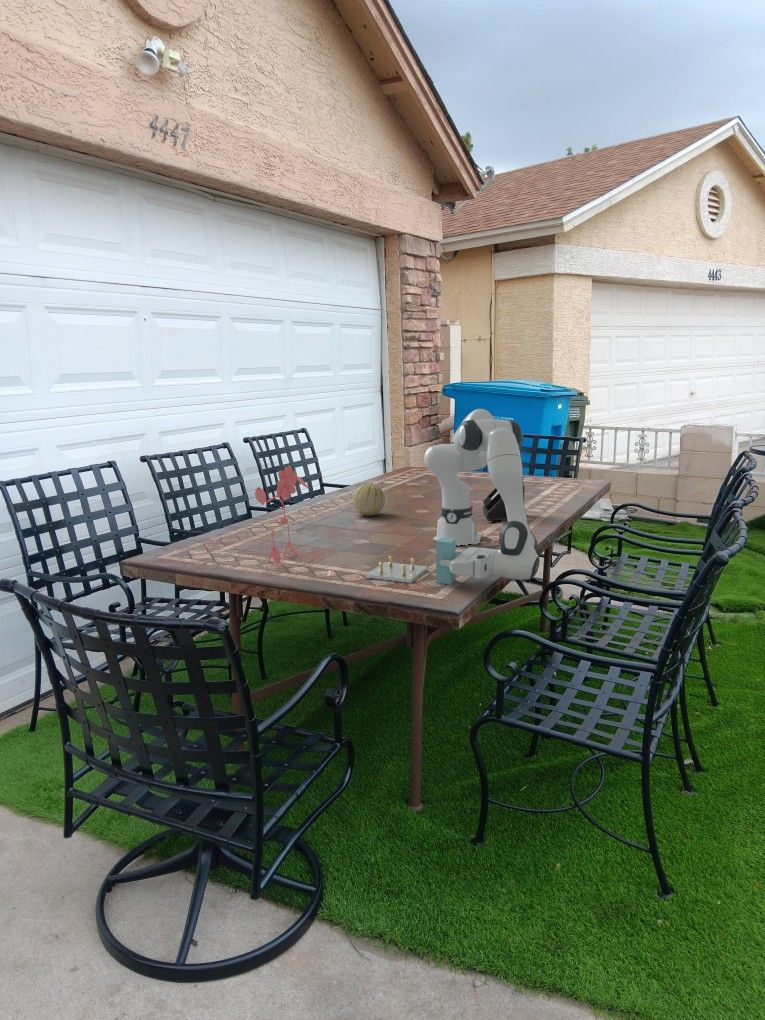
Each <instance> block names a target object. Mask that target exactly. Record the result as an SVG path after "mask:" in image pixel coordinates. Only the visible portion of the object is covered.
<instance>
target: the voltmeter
mask: <svg viewBox="0 0 765 1020" xmlns="http://www.w3.org/2000/svg"><path fill="white" fill-rule="evenodd" d="M522 481H523V482H524V476H523V475H522ZM523 499H524V500H525V485H524V484H523ZM482 503H483V506H482V512H483V515H484V518H485V519H486V520H487V522H488V521H493V522H494V521H499V520H501V521H503V520H505V521H506V520H507V521H508V519H507V513H506V508H505V504H504V501H503V499H502V497H501V495H500V494H499V492H498V490H497V489H496V487H495V488H494V489H493V490H492V491H491V492H490V493H489V494H488V496H486V497H485V498H484V500H483V501H482Z"/></svg>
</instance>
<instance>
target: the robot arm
mask: <svg viewBox="0 0 765 1020" xmlns="http://www.w3.org/2000/svg"><path fill="white" fill-rule="evenodd" d="M522 436H523V433H522V428H521V426H520V425H519V423H518V422H517V421H515V420H511V419H497V418H494V416H493V415H492V413H490V411H488V410H487V409H483V408H477V409H474V410H472V411H471V412H470V413H469V414H467V416H466V417H465V418H464V419H463V420H462V421H461V423H460V425H459V426H458V428H457V430H456V431H455V432H454V434H453V438H452V440H453V443H442V444H441V443H440V444H436V445H431V446H429V447H427V449H426V450H425V453H424V457H423V461H424V466H425V467H426V469H427V470H428V471H429V472H431V473H432V474H434V476H435V477H436V478H437V480H438V482H439V484H440V488H441V489H440V490H441V499H442V503H441V507H440V516H441V517H440V518H439V519H437V524H436V525H437V526H436V535H435V536H434V537H433V540H432V541H435V542H436V541H437V540H439V539H440V538H452V539H456V545H457V546H456V547H461V546H460V545H466V546H467V548H466V549H465V550H456V558H455V559H454V560H451V561H449V560H447V559H442V560H440V565H443V566H447V567H449V568H450V572H451V573H453V574H456V575H458V576H462V577H469V578H471V577H472V578H473V577H474V579H477V580H481V579H484V578H490V577H492V578H499V577H503V578H506V579H509V580H519V581H520V580H531V579H533V578H534V577H535V576H536V574H537V572H538V570H539V567H540V556H539V555H538V553H537V548H538V540H537V538H536V536H535V534H534V533H533V531H532V529H531V528H530V526H529V521H528V517H527V512H526V506H525V498H524V499H523V485H524V480H523V481H522V476H523V464H522V456H521V451H520V447H519V446H520V444H521V441H522V439H523V437H522ZM486 466H487V470H488V474H489V477H490V480H491V483H492V485H493V486H494V487H495V488H496V489H497V490H498V492H499V494H500V495H501V497H502V499H503V501H504V504H505V508H506V513H507V519H508V520H507V522H505V523H504V524H503V525H502V526H501V528H500V530H499V534H498V535H499V536H498V537H499V538H498V539H499V540H498V541H499V549H498V548H497V549H495V548H487V547H486V548H485V547H482V548H481V547H475V546H469V545H468V544H472V545H479V544H478V543H481V541H480V540H482V538H481V537H483V532H480V531H477V526H478V525H477V521H476V520H475V518H474V517H473V510H474V506H473V504H472V502H471V501H472V498H471V495H472V493H471V492H472V489H471V486H470V485H469V484H468V483H466V482H465V481H464V480H461V479H459V477H458V473H460V472H461V473H462V472H474V471H478V470H480V469H485V468H486ZM468 546H469V547H468Z"/></svg>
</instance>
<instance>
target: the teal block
mask: <svg viewBox="0 0 765 1020" xmlns="http://www.w3.org/2000/svg"><path fill="white" fill-rule="evenodd" d="M435 547H436V548H435V583H437V584H445V585H452V584H453V583H454V582H455V581H456V574H453V573H451V572H450V568H449V567H447V566H443V565H440V560H442V559H447V560H449V561H451V560H454V559H455V558H456V551H457V549H456V547H457V546H456V539H452V538H440V539H439V540H437V541H435Z"/></svg>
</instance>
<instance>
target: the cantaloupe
mask: <svg viewBox="0 0 765 1020" xmlns="http://www.w3.org/2000/svg"><path fill="white" fill-rule="evenodd" d="M385 502H386V496H385V493H384V492H383V490H382V489H381V488H380V487H379V486H377V485H375V484H374V483H373V482H370V483H366V484H365V483H364V484H362V485H360V486H358V487H357V489H356V490H355V492H354V494H353V496H352V504H353V507H354V509H355V511H356V512H358V514H360V515H362V516H365V517H371V516H375V515H378V514H379V513H381V511H383V509H384V506H385Z"/></svg>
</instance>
